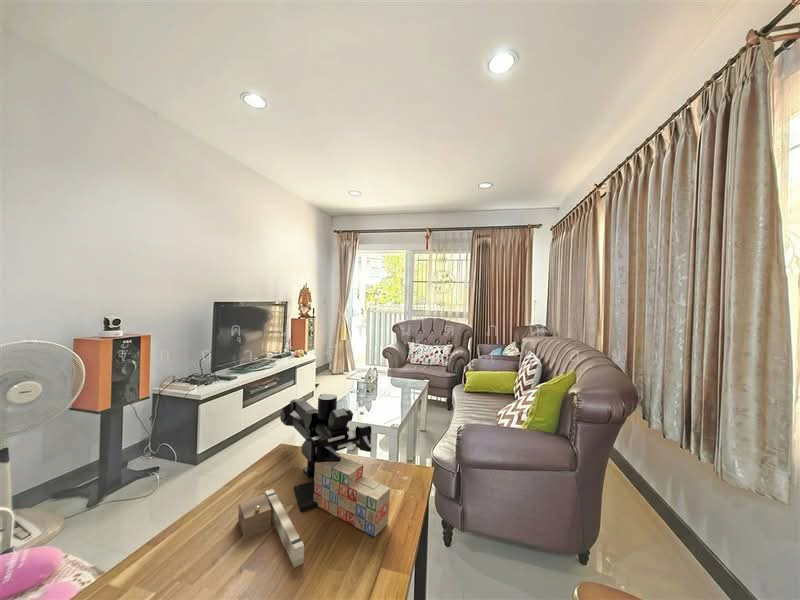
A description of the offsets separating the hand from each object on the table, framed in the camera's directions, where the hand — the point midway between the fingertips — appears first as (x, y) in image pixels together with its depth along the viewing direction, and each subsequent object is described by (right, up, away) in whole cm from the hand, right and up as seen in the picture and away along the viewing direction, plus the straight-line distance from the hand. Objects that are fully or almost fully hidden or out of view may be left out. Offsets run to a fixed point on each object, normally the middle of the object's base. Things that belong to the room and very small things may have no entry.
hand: (355, 454), depth 83 cm
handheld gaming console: (-13, -16, +8) cm, 22 cm away
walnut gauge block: (-25, -16, -4) cm, 30 cm away
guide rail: (-17, -16, -6) cm, 24 cm away
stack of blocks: (-2, -17, +1) cm, 17 cm away
